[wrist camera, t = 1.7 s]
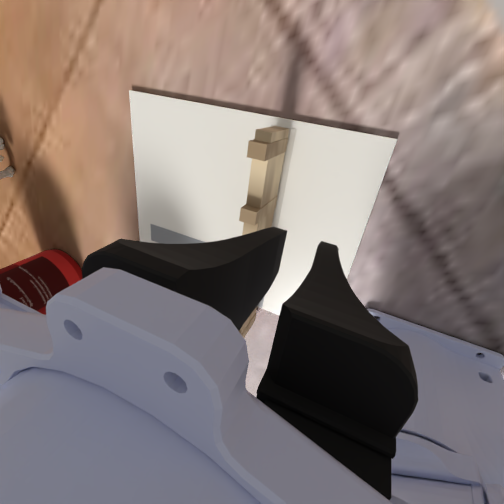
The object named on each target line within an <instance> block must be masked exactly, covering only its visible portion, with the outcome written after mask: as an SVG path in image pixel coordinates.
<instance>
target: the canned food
mask: <svg viewBox="0 0 504 504" xmlns="http://www.w3.org/2000/svg"><path fill="white" fill-rule="evenodd" d="M80 280H82V270H81V268H80V266H79V265H78V264H77V262H76V261H75V260H74V259H73V258H72V257H71V256H69V255H68V254H67V253H65V252H63V251H61V250H57V249H53V250H46V251H43V252H41V253H38V254H36V255H34V256H31V257H29V258H26V259H24V260H21V261H19V262H17V263H14V264H12V265H9V266H7V267H5V268H2V269H0V285H1V289H2V293H3V294H5V295H6V296H8V297H10V298H12V299H14V300H16V301H18V302H20V303H22V304H24V305H26V306H28V307H30V308H32V309H34V310H36V311H37V312H39V313H41V314H44V315H46V305H47V301H49V300H50V299H51V298H52V297H53V296H54V295H56V294H57V293H59V292H60V291H62V290H64V289H66V288H68V287H69V286H71V285H73V284H75V283H76V282H78V281H80Z"/></svg>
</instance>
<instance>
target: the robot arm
mask: <svg viewBox="0 0 504 504" xmlns="http://www.w3.org/2000/svg"><path fill="white" fill-rule="evenodd" d="M286 235H287V230H283V229H280V228H277V227H269V228H265V229H262V230H259V231H255V232H252V233H249V234H245V235H242V236H237V237H233V238H229V239H225V240H219V241H213V242H205V243H189V244H164V243H149V242H141V241H133V240H125V239H119V240H117V241H115V242H113V243H111V244H109V245H107V246H105V247H103V248H101V249H99V250H97V251H95V252H93V253H92V254H90V255H88V256H87V258H86V259H85V261H84V263H83V268H82V280H80V281H78V282H76V283H75V284H73V285H71V286H69V287H68V288H66V289H64V290H62V291H60V292H59V293H57V294H56V295H54V296H53V297H52V298H51V299H50V300H49V301H47V305H46V315H44V314H41V313H39V312H37V311H36V310H34V309H32V308H30V307H28V306H26V305H24V304H22V303H20V302H18V301H16V300H14V299H12V298H10V297H8V296H6V295H5V294H3V293H2V289H1V285H0V504H504V379H503V377H502V374H501V372H500V369H501V368H502V367H503V366H504V356H503V355H502V354H500V353H497V352H494V351H491V350H489V349H486V348H483V347H480V346H477V345H474V344H471V343H469V342H466V341H463V340H460V339H457V338H454V337H451V336H448V335H446V334H443V333H440V332H437V331H434V330H431V329H428V328H426V327H423V326H420V325H417V324H414V323H411V322H408V321H405V320H403V319H400V318H397V317H394V316H391V315H388V314H385V313H383V312H380V311H377V310H374V309H370V308H369V309H366V308H365V307H364V305H363V304H362V303H361V302H360V301H359V299H358V298H357V297H356V295H355V294H354V292H353V291H352V289H351V287H350V285H349V283H348V281H347V279H346V277H345V274H344V272H343V269H342V266H341V262H340V258H339V253H338V250H339V249H338V247H337V245H333V244H330V243H327V242H323V241H321V242H320V243H319V244H318V247H317V250H316V254H315V257H314V261H313V264H312V267H311V269H310V271H309V273H308V274H307V276H306V278H305V279H304V281H303V282H302V284H301V285H300V286H299V288H298V289H297V290H296V291H295V293H294V294H293V295H292V296H291V297H290V298H289V299H288V300H286V301H285V302H284V303H283V304H282V308H281V312H280V316H279V320H278V324H277V329H276V333H275V337H274V341H273V345H272V350H271V354H270V358H269V362H268V366H267V369H266V372H265V374H264V376H263V378H262V380H261V382H260V384H259V386H258V389H257V398H256V397H255V396H253V395H252V394H251V393H249V392H248V391H247V390H246V388H245V379H246V374H247V368H248V363H249V360H248V353H247V346H246V341H245V339H244V338H243V336H242V335H241V334H240V332H239V330H240V329H241V327H242V326H243V324H244V323H245V321H246V320H247V319H248V317H249V316H250V315H251V313H252V312H253V311H254V309H255V308H256V307H257V305H258V304H259V303H260V301H261V300H262V299H263V297H264V296H265V294H266V293H267V292H268V290H269V289H270V287H271V285H272V284H273V282H274V280H275V278H276V276H277V274H278V272H279V268H280V263H281V259H282V254H283V249H284V245H285V240H286ZM374 316H378V317H380V318H378V319H377V318H375V317H374ZM477 353H483V354H481V355H477Z"/></svg>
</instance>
